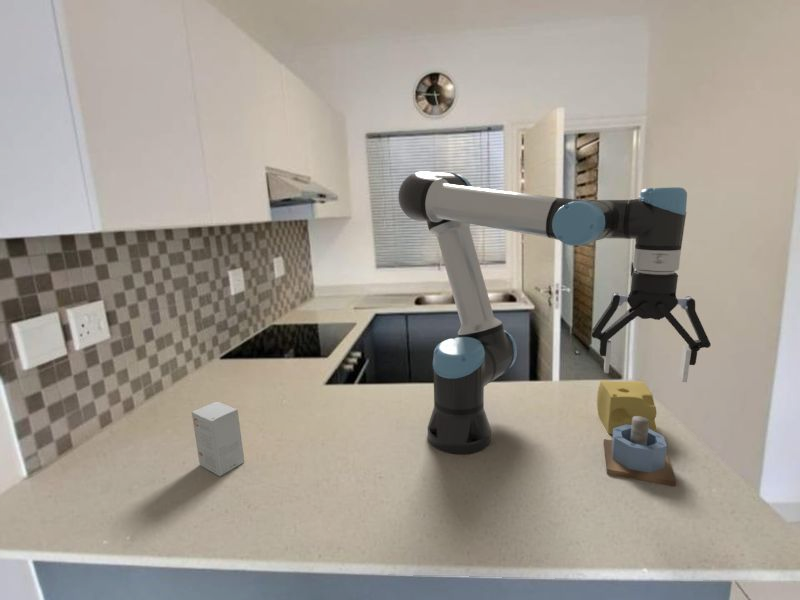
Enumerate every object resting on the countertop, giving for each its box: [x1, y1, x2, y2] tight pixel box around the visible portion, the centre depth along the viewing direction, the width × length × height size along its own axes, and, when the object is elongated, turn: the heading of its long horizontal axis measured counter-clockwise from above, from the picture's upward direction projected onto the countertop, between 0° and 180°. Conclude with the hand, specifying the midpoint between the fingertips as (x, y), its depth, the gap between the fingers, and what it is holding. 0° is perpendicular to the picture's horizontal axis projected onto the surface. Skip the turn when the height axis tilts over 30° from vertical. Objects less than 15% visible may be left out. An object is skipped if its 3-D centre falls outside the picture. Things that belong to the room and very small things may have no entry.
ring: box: [611, 425, 668, 473], centre depth 89 cm, size 9×9×5 cm
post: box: [603, 416, 677, 487], centre depth 88 cm, size 12×12×10 cm
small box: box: [191, 401, 245, 477], centre depth 93 cm, size 8×6×13 cm
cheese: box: [596, 380, 657, 435], centre depth 103 cm, size 10×11×10 cm
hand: (643, 375), depth 85 cm, fingers open, 13 cm apart
